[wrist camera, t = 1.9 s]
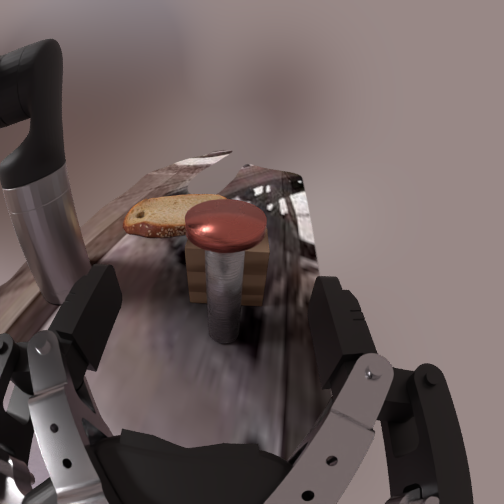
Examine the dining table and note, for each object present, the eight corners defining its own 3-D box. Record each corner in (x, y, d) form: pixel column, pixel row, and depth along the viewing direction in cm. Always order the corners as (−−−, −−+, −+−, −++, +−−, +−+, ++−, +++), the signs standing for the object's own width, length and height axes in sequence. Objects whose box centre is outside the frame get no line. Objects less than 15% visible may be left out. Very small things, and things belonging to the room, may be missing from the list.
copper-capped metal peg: (252, 356, 27) (269, 241, 19) (192, 352, 27) (176, 236, 18) (251, 272, 38) (260, 174, 30) (205, 270, 38) (203, 171, 30)
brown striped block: (261, 306, 34) (269, 252, 29) (190, 302, 33) (184, 248, 28) (260, 279, 38) (266, 228, 33) (195, 276, 37) (192, 224, 32)
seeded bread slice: (238, 207, 56) (239, 191, 54) (197, 255, 42) (196, 235, 40) (166, 193, 60) (165, 178, 58) (114, 231, 46) (110, 213, 43)
